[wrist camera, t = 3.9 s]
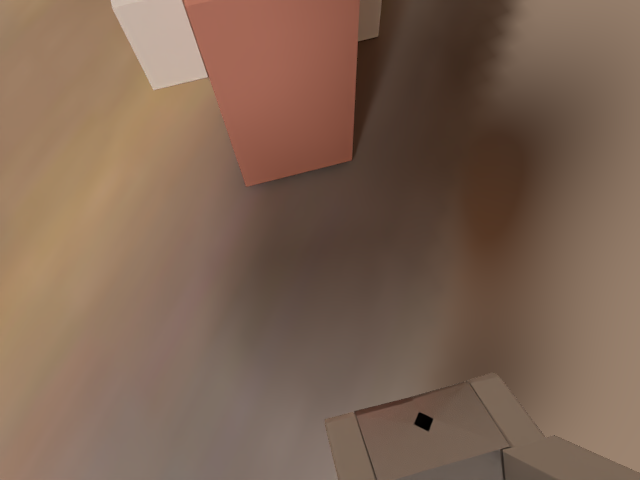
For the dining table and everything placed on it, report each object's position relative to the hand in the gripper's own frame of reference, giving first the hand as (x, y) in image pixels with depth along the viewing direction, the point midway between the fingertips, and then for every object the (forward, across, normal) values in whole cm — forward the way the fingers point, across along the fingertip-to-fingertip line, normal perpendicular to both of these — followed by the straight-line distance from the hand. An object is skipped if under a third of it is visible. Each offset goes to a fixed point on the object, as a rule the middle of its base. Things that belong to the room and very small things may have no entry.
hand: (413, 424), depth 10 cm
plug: (+18, 0, -3) cm, 19 cm away
